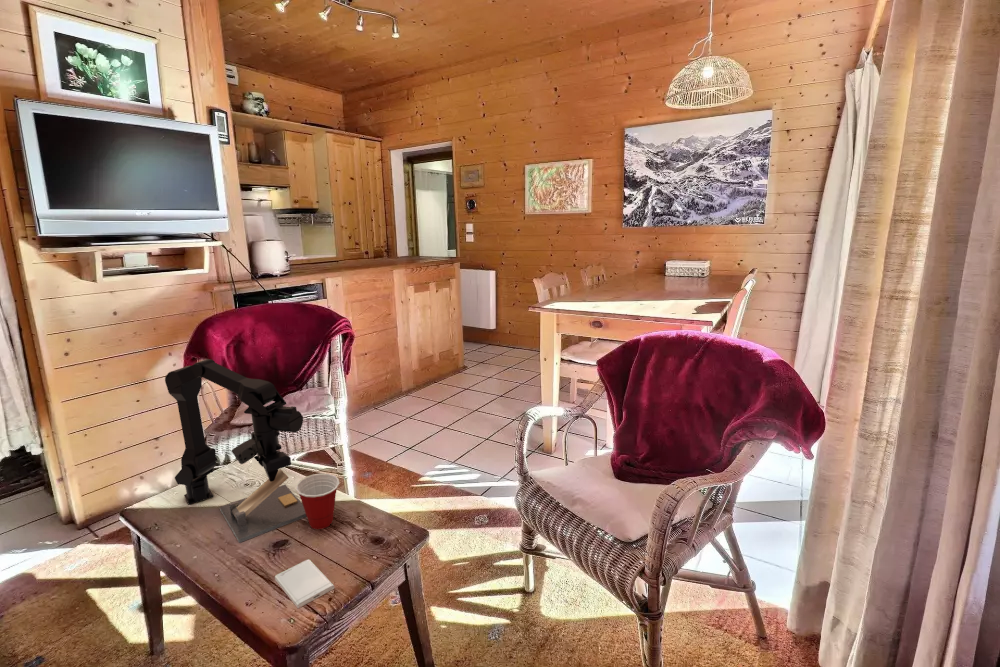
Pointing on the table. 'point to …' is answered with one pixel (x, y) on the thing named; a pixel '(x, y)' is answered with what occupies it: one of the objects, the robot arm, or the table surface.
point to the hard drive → (304, 583)
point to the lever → (260, 494)
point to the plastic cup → (318, 498)
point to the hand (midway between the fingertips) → (271, 480)
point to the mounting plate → (264, 514)
